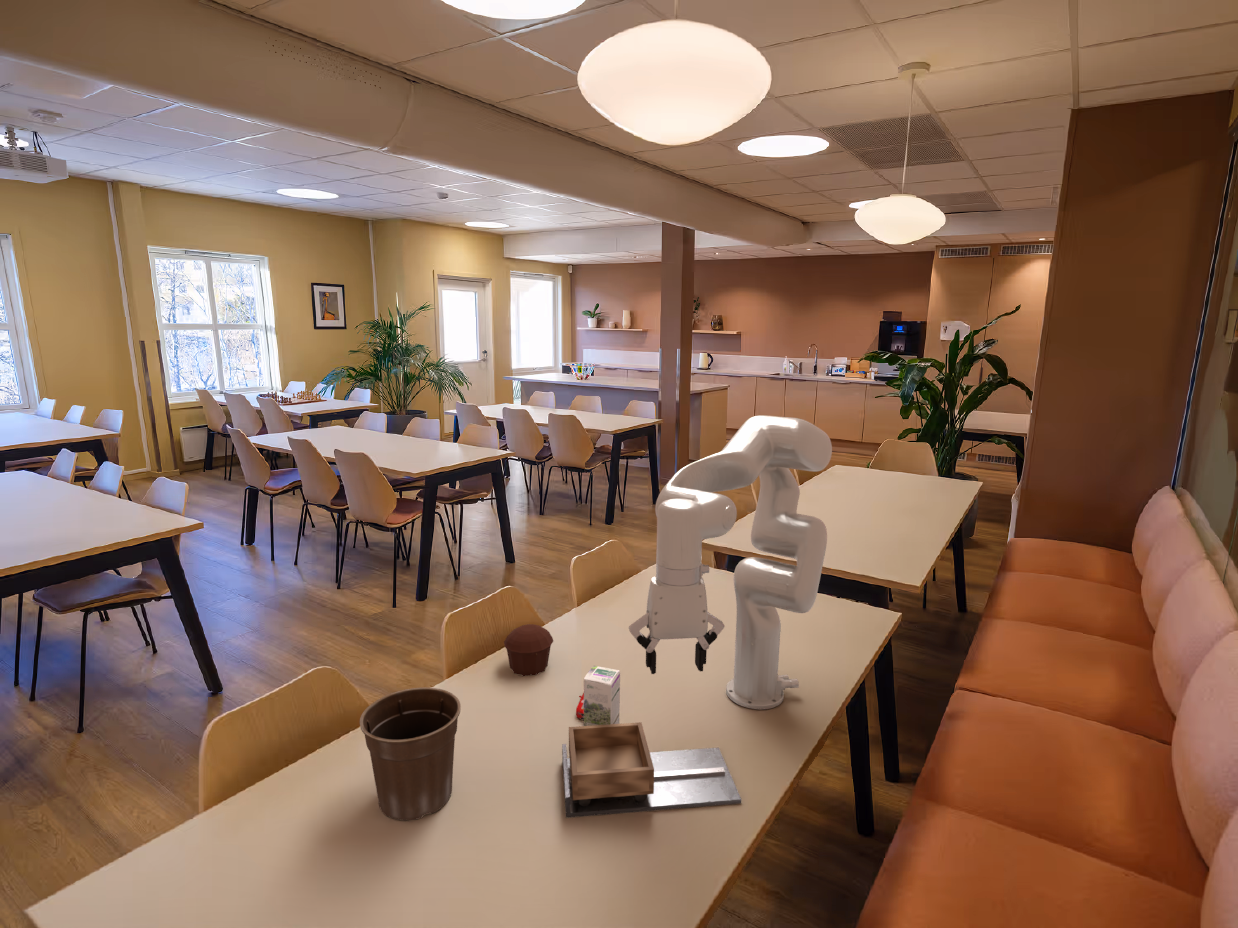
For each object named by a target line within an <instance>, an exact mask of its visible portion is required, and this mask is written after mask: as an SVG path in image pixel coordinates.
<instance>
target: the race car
mask: <svg viewBox="0 0 1238 928" xmlns="http://www.w3.org/2000/svg"><path fill="white" fill-rule="evenodd" d="M578 697H579V701H578V704H577V706H576V710H575V715H576V718H578V719H579V720H583V721H584V691H583V692H582V695H579V696H578Z"/></svg>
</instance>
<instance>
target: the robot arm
mask: <svg viewBox="0 0 1238 928" xmlns="http://www.w3.org/2000/svg"><path fill="white" fill-rule="evenodd" d="M832 455H833V445H832V441H831V439H830V437H829V435H828V433H827V432H825V431H824V430H823V429H821V428H820V427H818V426H816V425H815V424H813V423H812V422H809V421H808V420H805V419H802V418H798V417H787V416H775V415H764V414H763V415H762V414H761V415H754V416H751V417H749V418H747V420H745V422H744V423H742V425H741V426H740V427H739V428H738V430H737V431H736V432H735V433H734V435H733V436H732V437H731V438H730V440H729V441H728V442H727V443H726V445H724V447H723V448H722V450H721V451H719V452H716V453H714V454H713V453H712V454H711V455H708V456H706V457H704V458H701V459H699V460H696V461H694V462H691V463H689V464H687V465H686V466H684V467H682V468H680V469H679V470H677V472H676V473H675V474H674V475H673V476H672V477H671V478H670V479H669V480H668V482H666V484H665V485H664V487H663V488H662V489H661V491H660V493H659V494H658V497H657V499H656V501H655V509H654V511H655V516H656V554H655V555H656V560H655V561H656V563H655V564H656V567H655V572H656V573H655V576H652V577H651V580H650V582H649V587H648V592H647V602H646V613H645V614H643V615H642V616H641V617H639V618H638V619H637V620H635V621H634V622H633V623H631V624H630V625H629V626H628V629H629V632H630V634H631V635H632V636H633V638H634V640H636V642H637V643H638V644H639V645H640V646H641V647H642V648H643V649H644V650H645V666H646V668H649V670H650V674H651V675H655V674H657V651H656V647H657V645H658V644H659V642H660V640H680V639H681V640H683V639H696V640H697V641H696V643H695V649H694V650H695V651H694V664H695V666H696V669H697V671H699V672H703V671H704V665H706V664H707V651H708V649H709V648H710V645H711V644H712V643H713V642H714V641H716V640H717V639H718V636H719V635H720V634H721V633H722V631H723V630H724V629H725V627H726V626H725V623H724V622H723V620H721V619H719V618H717V617H716V616H714V615H713V614H712V613H710V612H709V611H708V601H707V600H708V598H707V589H706V584H705V581H704V577H703V575H705V574H706V573H707V574H709V573H710V564H704V563H702V552H703V551H702V549H703V547H702V546H703V540H707V539H709V540H710V539H715V538H719V537H723V536H724V535H726V534H727V533H729V532H730V531H731V530H732V529H733V527H734V525H735V523H736V521H737V517H738V514H737V513H738V512H737V511H738V510H737V507H736V504H735V503H734V501H733V500H732V499H731V498H730V497H729V496H727V495H725V494H721V493H718V492H725V491H732V490H737V489H742V488H745V487H748V486H751V485H752V484H753V483H755V482H756V480H757V479H758V477H759V493H758V499H757V503H756V507H755V512H754V517H753V521H752V526H751V533H750V542H751V544H752V546H753V547H754V548H755V549H756V550H758V551H760V552H761V551H762V552H764V553H768V554H772V555H777V556H782V557H786V558H791V559H795V560H796V565H794V564H791V563H786V562H781V561H779V560H774V559H769V558H762V557H758V556H757V557H756V556H752V557H749V556H748V557H745V558H743V559H742V560H740V561H739V562H738V564H737V565H736V566H735V569H734V573H733V586H734V587H733V588H734V595H735V602H736V617H735V619H736V620H735V621H736V624H735V642H734V643H735V644H734V661H733V662H734V666H733V678H731V679H730V680H729V681H728V682H727V683H726V686H725V693H726V695H727V697H728V698H729V700H731V701H732V702H733V703H735V704H737V705H739V706H741V707H744V708H746V709H752V710H769V709H773V708H775V707H778V706H780V704H782V702H783V701H784V700H785V699H784V695H785V693H784V691H785V690H786V689H796V688H797V689H798V688H799V686H800V683H799V680H798V678H790V677H789V675H788V674H782V675H779V664H780V663H779V661H780V660H779V658H780V642H781V633H782V631H781V630H782V629H781V627H782V626H781V625H782V623H781V619H780V615H779V612H778V610H779V609H780V610H784V611H788V612H790V613H796V614H806V613H808V612H810V611H811V610H812V608H813V606H814V604H815V602H816V600H817V595H818V591H819V586H820V585H819V584H820V581H821V575H822V571H823V566H824V562H825V561H824V560H825V556H826V552H827V551H826V550H827V544H828V532H827V526H826V524H825V523H824V521H822V520H821V518H818V517H815V516H813V515H812V516H811V515H808V514H802V513H798V511H797V510H798V505H799V499H800V494H801V493H800V490H801V489H800V487H799V484H798V482H797V479H796V478H795V476H794V474H793V473H792V471H791V470H790V469H792V470H798V471H799V470H800V471H807V472H820V471H823V470H824V469H825V468H826V467H827V466H828V465H829V463H830V461H831V459H832ZM777 609H778V610H777ZM709 624H710V625H712V626H711V629H709V630H708V628H709V627H708V626H709ZM645 627H646V628H647V629H648V630H649V633H648V634H647V635H646V636H645V635H644V634H643V633H642V632H641V630H643V629H644V628H645Z"/></svg>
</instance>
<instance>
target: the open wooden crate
mask: <svg viewBox="0 0 1238 928" xmlns="http://www.w3.org/2000/svg"><path fill="white" fill-rule="evenodd" d="M568 755H569V756H568V758H570V771H571V783H572V796H573V800H578V801H579V804H580V805H581V806H587V805H589V804H590V799H594V798H606V797H619V796H632V795H635V799H636V800H637V801H638V802H643V801H645V800H646V798H647V794H654V767H653V763H652V759H651V756H650V748H649V745H648V742H647V738H646V735H645V731H644V726H643V723H642V722H641V721H640V722H626V723H625V722H624V723H619V724H608V725H592V726H584V725H581V726H580V725H579V726H568Z"/></svg>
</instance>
